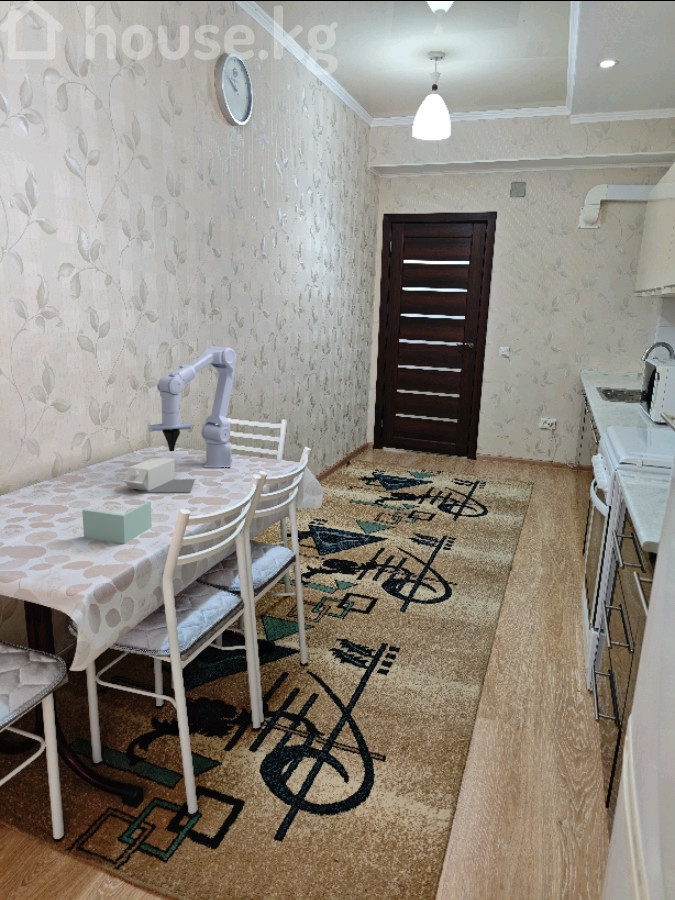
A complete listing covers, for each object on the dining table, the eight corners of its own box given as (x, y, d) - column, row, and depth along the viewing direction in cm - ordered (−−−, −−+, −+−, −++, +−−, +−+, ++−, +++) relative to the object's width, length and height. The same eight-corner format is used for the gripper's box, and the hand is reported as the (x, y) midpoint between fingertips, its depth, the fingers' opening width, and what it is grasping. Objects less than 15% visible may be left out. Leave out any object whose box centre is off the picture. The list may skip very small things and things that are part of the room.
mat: (194, 480, 203) (194, 479, 203) (190, 493, 190) (190, 491, 190) (146, 480, 201) (146, 479, 201) (138, 493, 188) (138, 492, 187)
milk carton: (175, 479, 203) (140, 494, 185) (157, 476, 205) (121, 491, 187) (174, 459, 201) (140, 472, 183) (156, 456, 203) (120, 469, 186)
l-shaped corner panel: (151, 528, 160) (150, 501, 158) (124, 544, 149) (123, 516, 147) (113, 522, 163) (111, 496, 161) (84, 537, 152) (82, 510, 150)
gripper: (189, 409, 207) (190, 446, 211) (146, 410, 201) (147, 449, 204) (194, 412, 201) (194, 451, 204) (149, 414, 195) (151, 454, 198)
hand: (171, 450), depth 204 cm, fingers closed
